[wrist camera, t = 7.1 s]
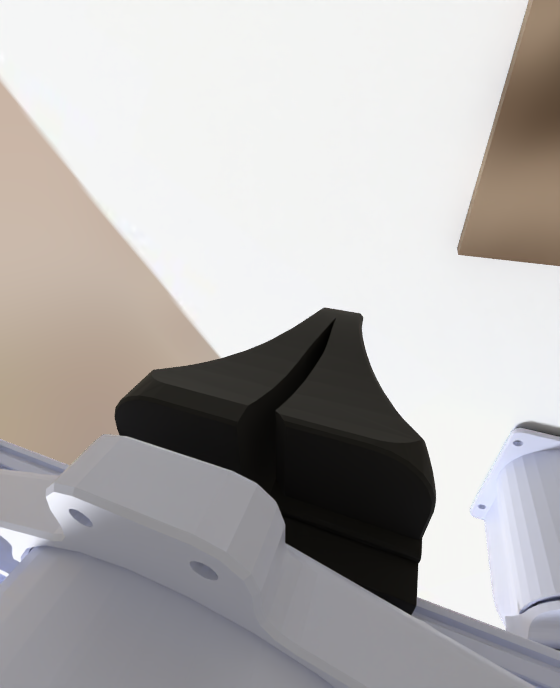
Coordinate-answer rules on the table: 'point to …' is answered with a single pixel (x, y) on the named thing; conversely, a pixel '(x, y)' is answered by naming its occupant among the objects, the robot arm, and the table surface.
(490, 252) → the base board
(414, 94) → the table surface
